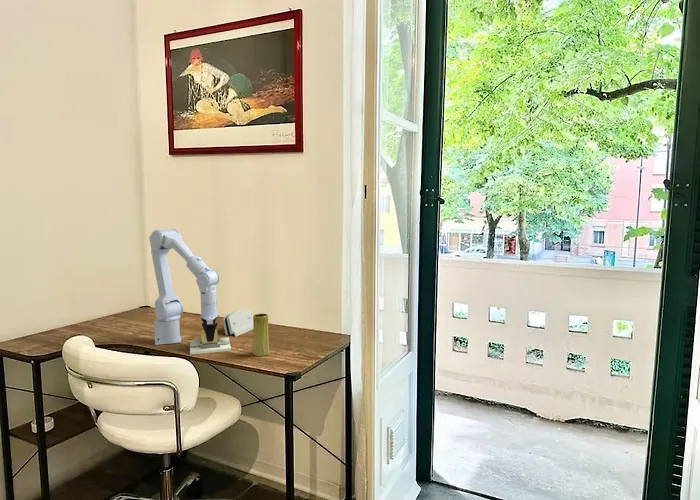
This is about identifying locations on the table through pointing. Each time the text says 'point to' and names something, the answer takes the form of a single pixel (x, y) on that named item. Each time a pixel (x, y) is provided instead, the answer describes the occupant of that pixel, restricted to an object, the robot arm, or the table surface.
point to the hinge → (238, 322)
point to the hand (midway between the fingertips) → (209, 338)
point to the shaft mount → (209, 346)
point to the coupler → (204, 340)
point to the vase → (260, 335)
